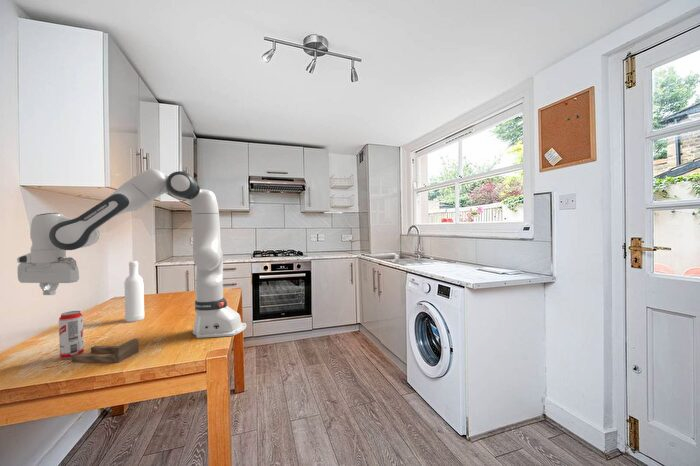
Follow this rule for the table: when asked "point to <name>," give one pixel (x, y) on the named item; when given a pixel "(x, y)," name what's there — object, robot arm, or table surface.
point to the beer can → (71, 334)
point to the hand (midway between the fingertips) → (49, 294)
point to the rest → (120, 352)
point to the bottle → (134, 294)
